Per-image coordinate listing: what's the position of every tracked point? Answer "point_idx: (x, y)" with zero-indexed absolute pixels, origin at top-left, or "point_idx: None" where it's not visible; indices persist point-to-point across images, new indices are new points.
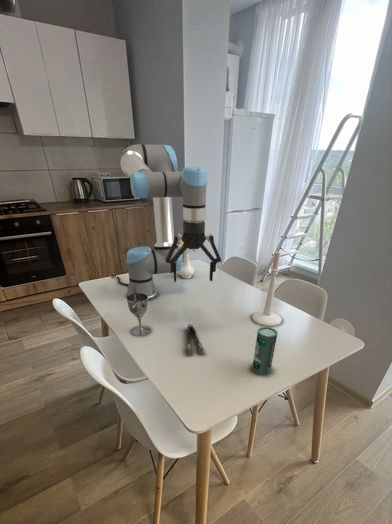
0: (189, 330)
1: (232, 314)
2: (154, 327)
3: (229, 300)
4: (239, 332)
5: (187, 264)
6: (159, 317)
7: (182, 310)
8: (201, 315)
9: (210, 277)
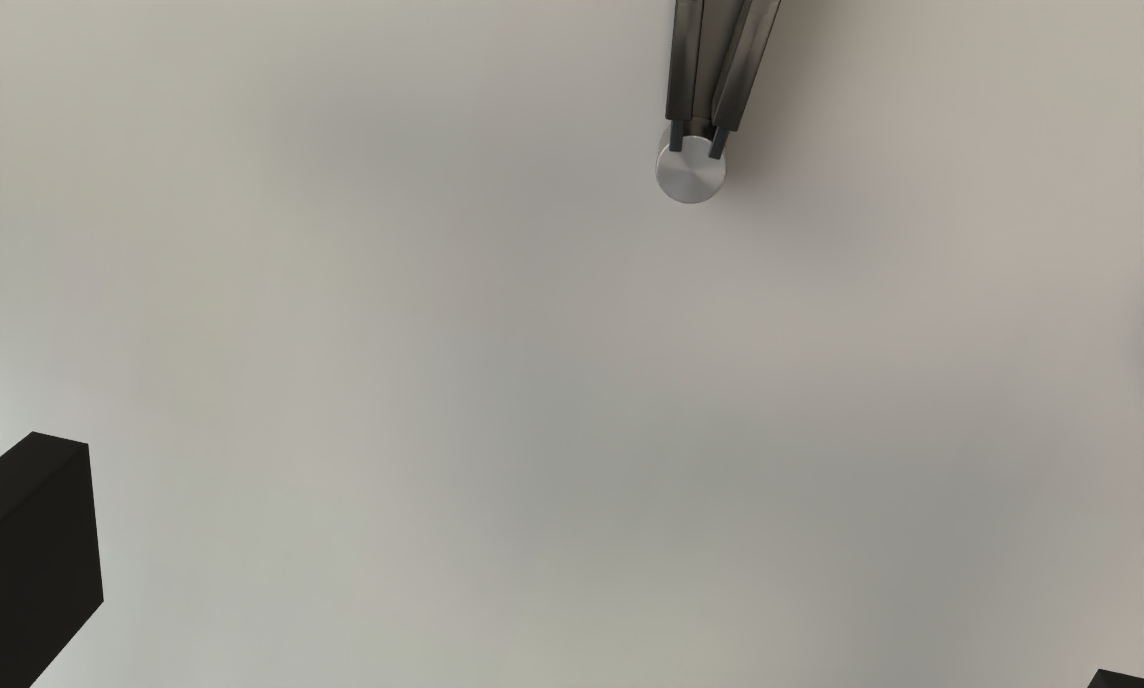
0: (751, 18)
1: (131, 354)
2: (1083, 337)
3: (121, 611)
4: None
5: None
6: (934, 520)
7: (639, 577)
8: (467, 429)
9: (17, 527)
